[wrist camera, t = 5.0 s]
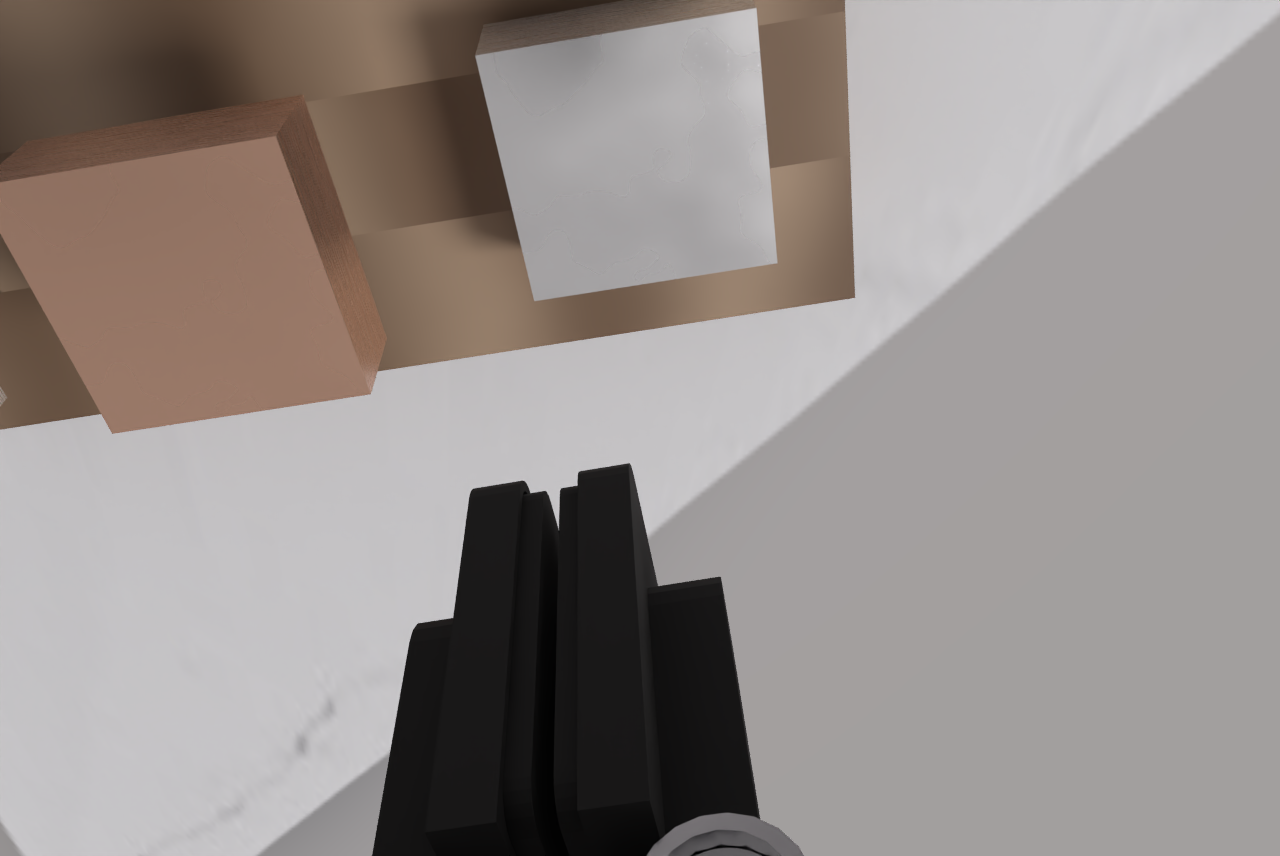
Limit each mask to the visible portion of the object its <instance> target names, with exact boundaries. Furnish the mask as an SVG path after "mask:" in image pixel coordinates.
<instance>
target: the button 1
mask: <svg viewBox="0 0 1280 856" xmlns="http://www.w3.org/2000/svg"><path fill="white" fill-rule="evenodd" d="M6 399H7V397H6V395H5V393H4V392H3V390H2V388H1V387H0V406H1V405H2V404H3V402H4V401H5V400H6Z"/></svg>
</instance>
